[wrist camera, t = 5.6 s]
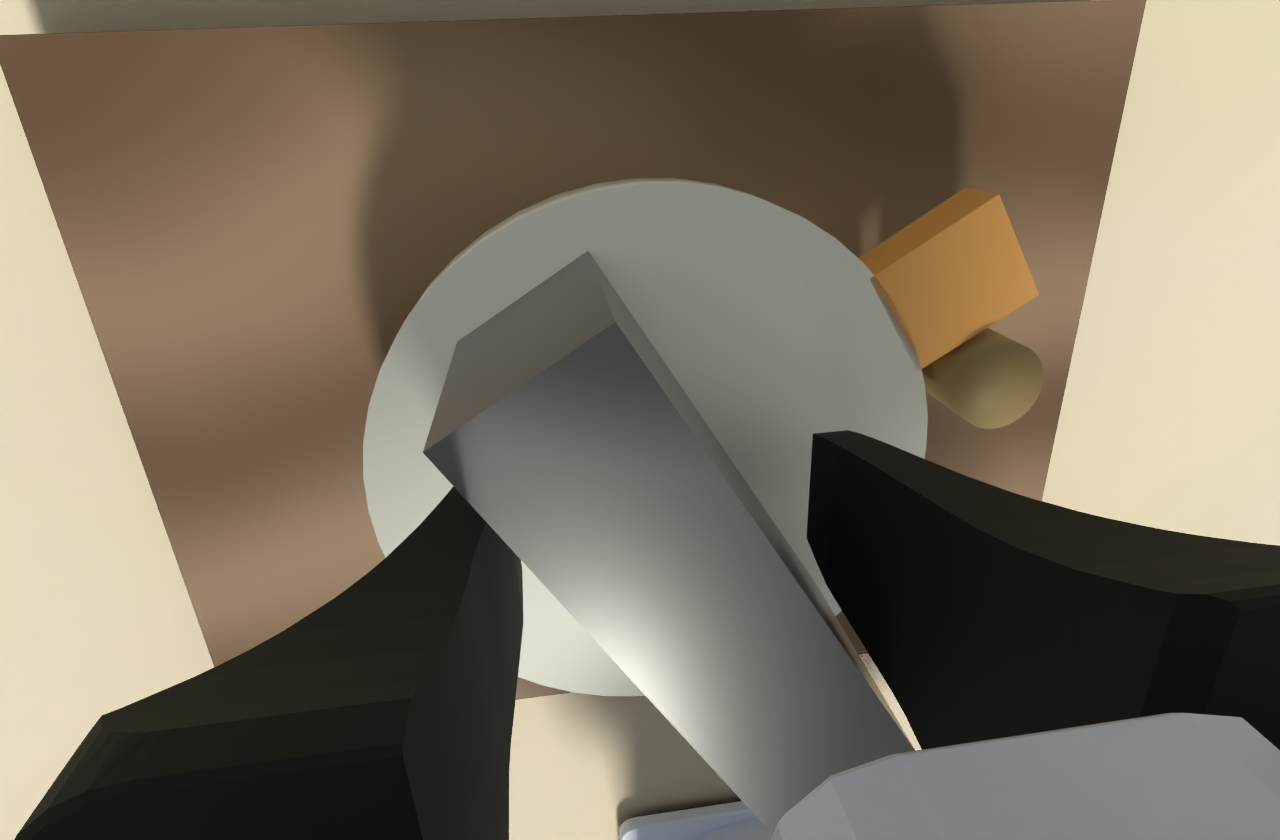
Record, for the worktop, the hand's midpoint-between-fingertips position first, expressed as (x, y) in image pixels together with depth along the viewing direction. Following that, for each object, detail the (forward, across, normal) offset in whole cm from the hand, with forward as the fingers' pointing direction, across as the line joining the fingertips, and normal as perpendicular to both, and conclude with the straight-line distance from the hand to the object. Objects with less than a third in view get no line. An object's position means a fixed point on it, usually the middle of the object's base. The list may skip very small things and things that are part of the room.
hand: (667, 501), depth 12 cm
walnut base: (+5, 0, 0) cm, 5 cm away
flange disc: (+2, -1, 0) cm, 2 cm away
